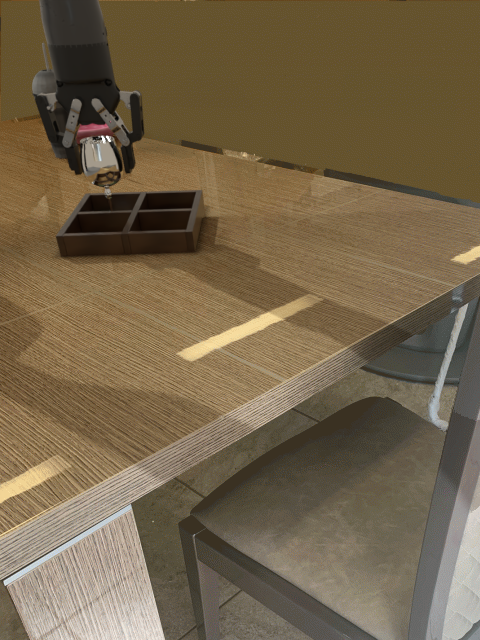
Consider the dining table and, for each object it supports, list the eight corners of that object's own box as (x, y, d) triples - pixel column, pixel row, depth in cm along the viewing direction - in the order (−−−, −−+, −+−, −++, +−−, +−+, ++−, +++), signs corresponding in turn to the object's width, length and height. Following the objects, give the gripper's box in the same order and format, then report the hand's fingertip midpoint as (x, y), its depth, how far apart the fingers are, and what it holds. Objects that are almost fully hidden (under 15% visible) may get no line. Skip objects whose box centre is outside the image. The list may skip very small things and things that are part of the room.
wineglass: (105, 216, 100) (88, 134, 92) (140, 219, 99) (125, 135, 91) (87, 229, 95) (67, 144, 88) (123, 232, 94) (106, 146, 87)
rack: (63, 265, 87) (55, 236, 84) (91, 219, 101) (85, 193, 98) (196, 260, 88) (192, 231, 85) (205, 216, 102) (202, 189, 99)
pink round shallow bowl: (54, 137, 143) (50, 122, 141) (108, 130, 148) (106, 115, 147) (70, 149, 135) (66, 133, 133) (127, 141, 140) (124, 125, 138)
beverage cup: (75, 148, 135) (50, 38, 123) (91, 155, 131) (67, 42, 119) (42, 155, 131) (13, 42, 119) (57, 162, 127) (29, 46, 115)
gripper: (10, 43, 79) (46, 182, 89) (128, 41, 80) (151, 179, 90) (28, 36, 85) (60, 167, 95) (138, 34, 86) (158, 164, 96)
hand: (104, 172), depth 92 cm, fingers open, 6 cm apart
